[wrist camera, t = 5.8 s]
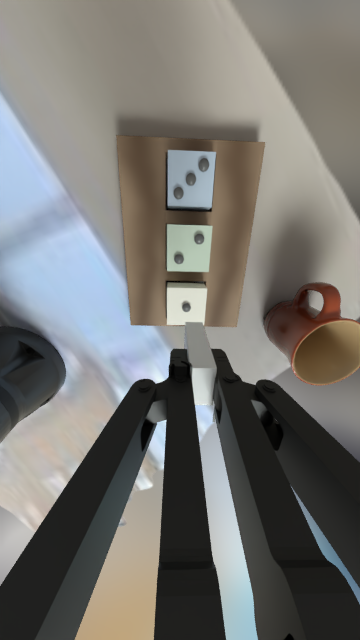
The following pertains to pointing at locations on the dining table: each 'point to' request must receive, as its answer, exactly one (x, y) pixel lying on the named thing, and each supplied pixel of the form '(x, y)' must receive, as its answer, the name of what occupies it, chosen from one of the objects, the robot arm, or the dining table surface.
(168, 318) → the tile one
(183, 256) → the tile two
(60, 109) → the dining table surface
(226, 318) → the board
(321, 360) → the mug
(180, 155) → the tile three
